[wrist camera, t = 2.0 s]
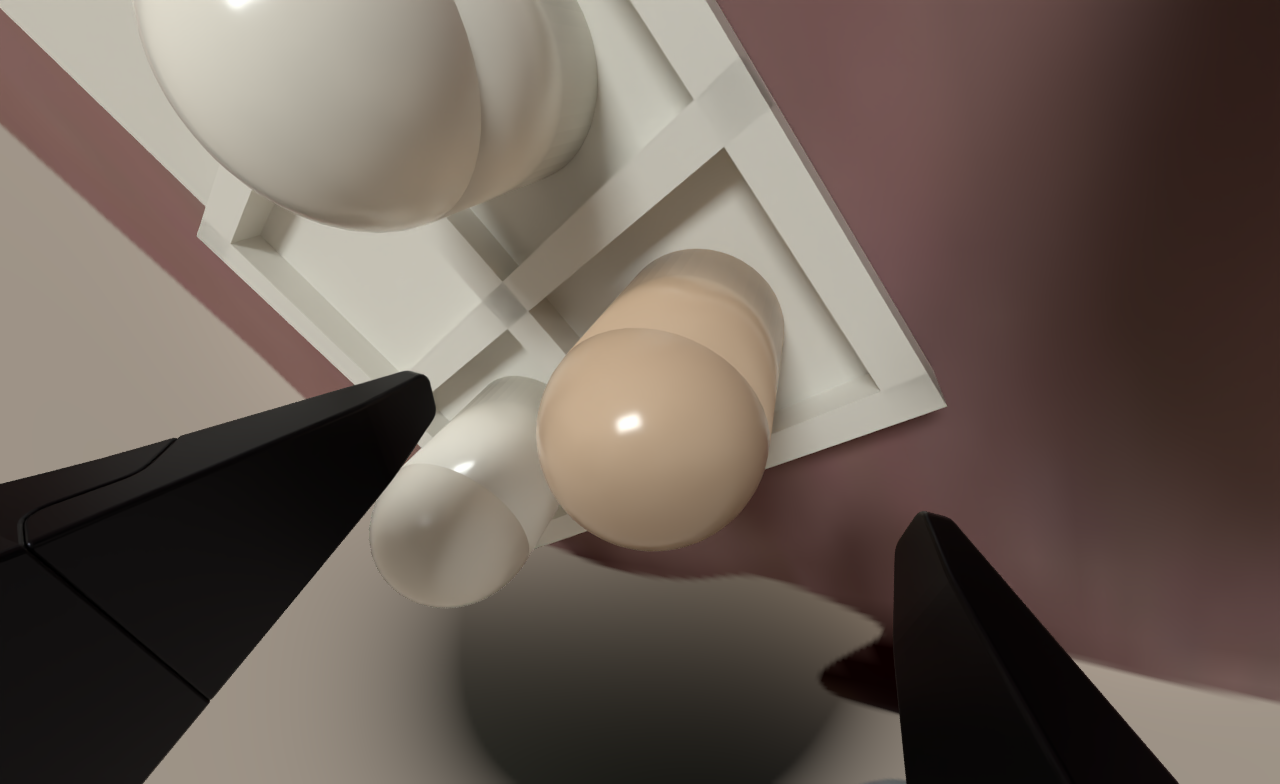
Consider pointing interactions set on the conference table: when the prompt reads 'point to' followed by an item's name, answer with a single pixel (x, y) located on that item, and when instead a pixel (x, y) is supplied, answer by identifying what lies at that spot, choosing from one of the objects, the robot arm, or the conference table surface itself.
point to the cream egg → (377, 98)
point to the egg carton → (556, 230)
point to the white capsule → (467, 502)
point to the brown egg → (666, 404)
